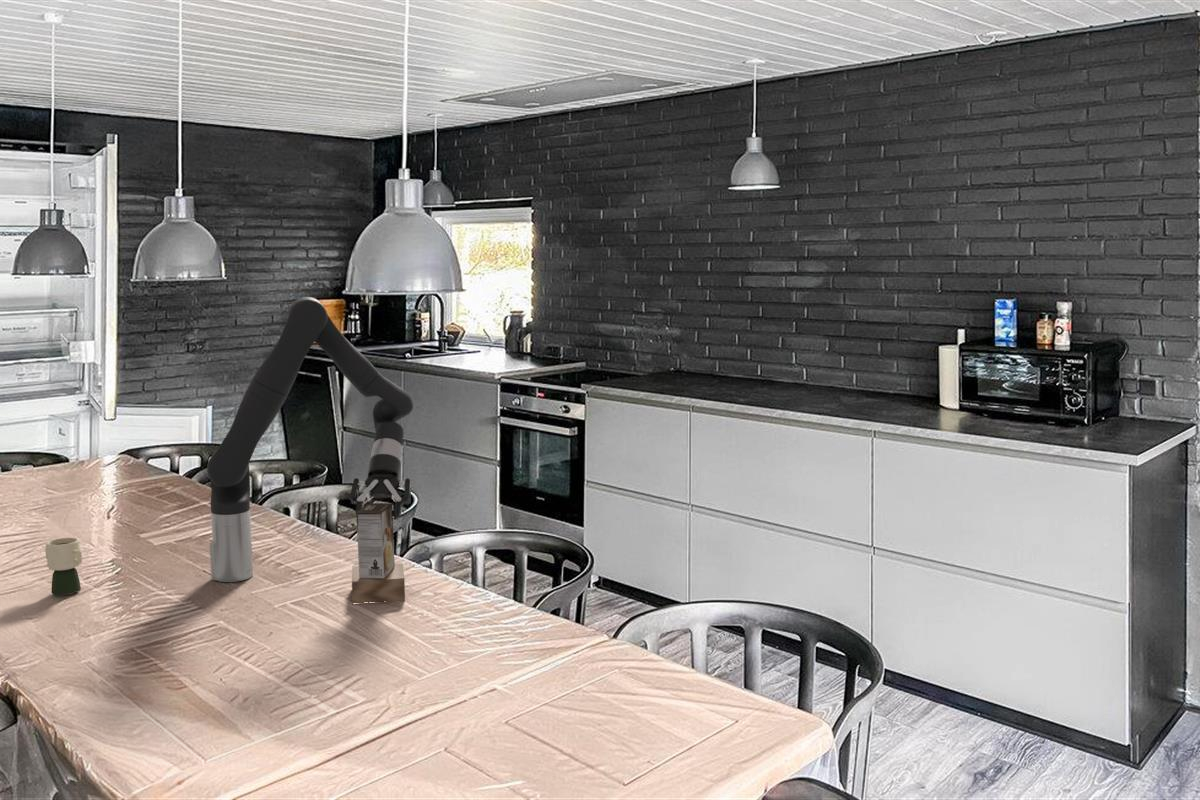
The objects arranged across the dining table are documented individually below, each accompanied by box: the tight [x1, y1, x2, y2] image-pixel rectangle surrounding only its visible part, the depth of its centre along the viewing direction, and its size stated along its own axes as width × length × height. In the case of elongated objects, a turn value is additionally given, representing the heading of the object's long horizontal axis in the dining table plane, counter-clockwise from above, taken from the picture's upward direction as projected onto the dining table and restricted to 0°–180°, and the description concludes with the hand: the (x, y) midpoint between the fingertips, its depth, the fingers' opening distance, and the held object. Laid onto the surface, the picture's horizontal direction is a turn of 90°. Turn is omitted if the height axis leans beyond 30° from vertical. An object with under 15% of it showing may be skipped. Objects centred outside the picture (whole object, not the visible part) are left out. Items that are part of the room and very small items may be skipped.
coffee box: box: [355, 502, 396, 579], centre depth 247 cm, size 9×6×16 cm
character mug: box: [45, 536, 83, 596], centre depth 249 cm, size 11×7×13 cm, turn 70°
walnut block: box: [351, 562, 406, 604], centre depth 249 cm, size 12×12×6 cm
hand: (377, 517), depth 249 cm, fingers open, 8 cm apart
